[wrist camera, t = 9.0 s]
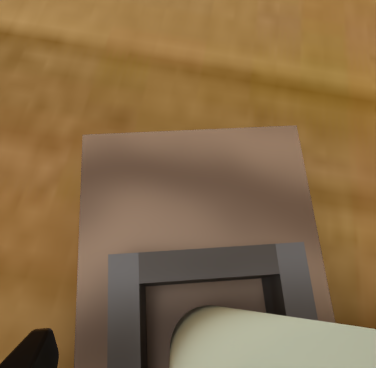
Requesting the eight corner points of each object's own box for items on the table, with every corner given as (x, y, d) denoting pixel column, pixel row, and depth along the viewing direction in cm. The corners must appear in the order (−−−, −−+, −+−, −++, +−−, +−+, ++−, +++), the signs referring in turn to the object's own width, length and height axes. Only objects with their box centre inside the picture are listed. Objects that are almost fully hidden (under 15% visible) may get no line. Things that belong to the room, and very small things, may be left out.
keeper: (379, 633, 13) (476, 791, 9) (73, 675, 13) (22, 866, 8) (287, 137, 20) (317, 95, 16) (89, 146, 20) (66, 104, 15)
